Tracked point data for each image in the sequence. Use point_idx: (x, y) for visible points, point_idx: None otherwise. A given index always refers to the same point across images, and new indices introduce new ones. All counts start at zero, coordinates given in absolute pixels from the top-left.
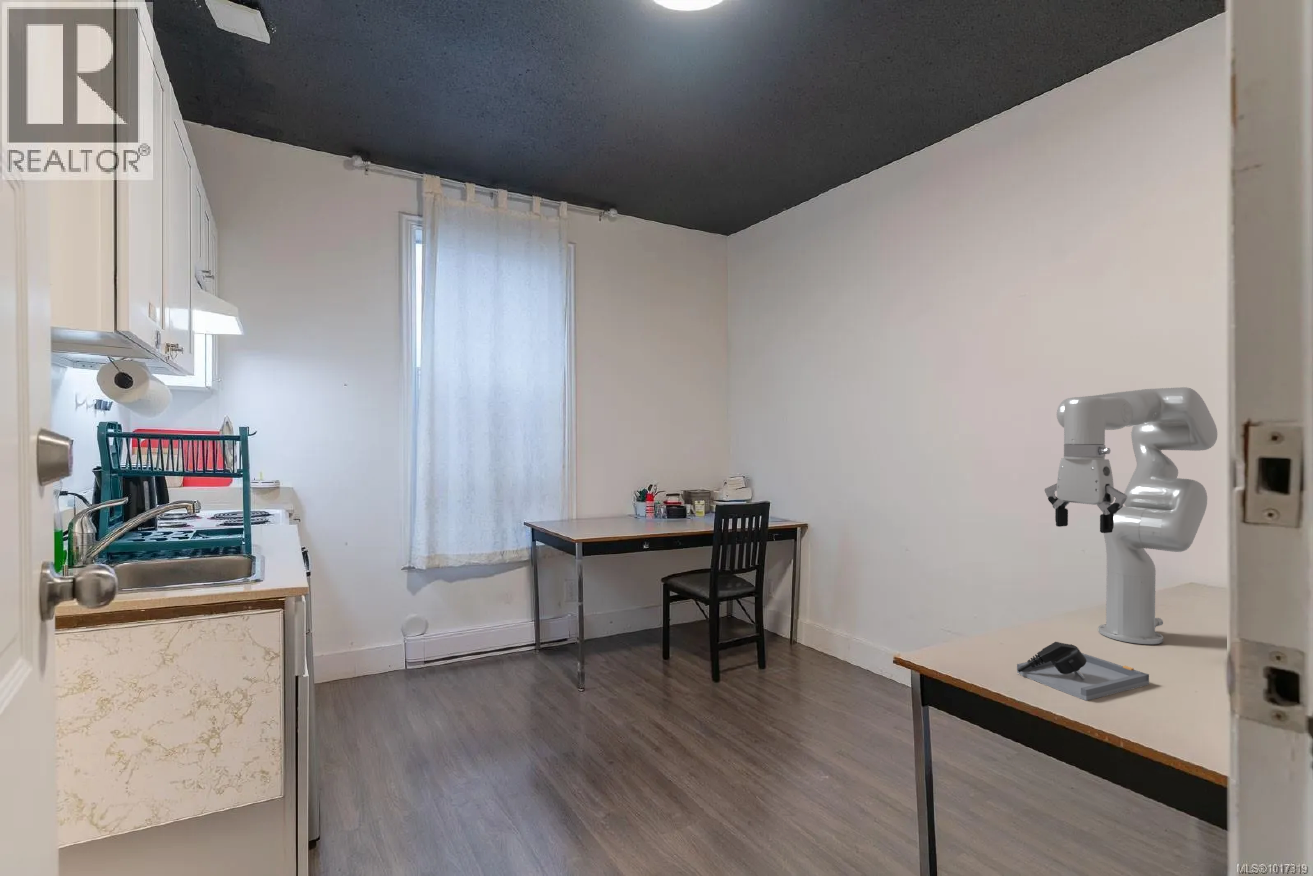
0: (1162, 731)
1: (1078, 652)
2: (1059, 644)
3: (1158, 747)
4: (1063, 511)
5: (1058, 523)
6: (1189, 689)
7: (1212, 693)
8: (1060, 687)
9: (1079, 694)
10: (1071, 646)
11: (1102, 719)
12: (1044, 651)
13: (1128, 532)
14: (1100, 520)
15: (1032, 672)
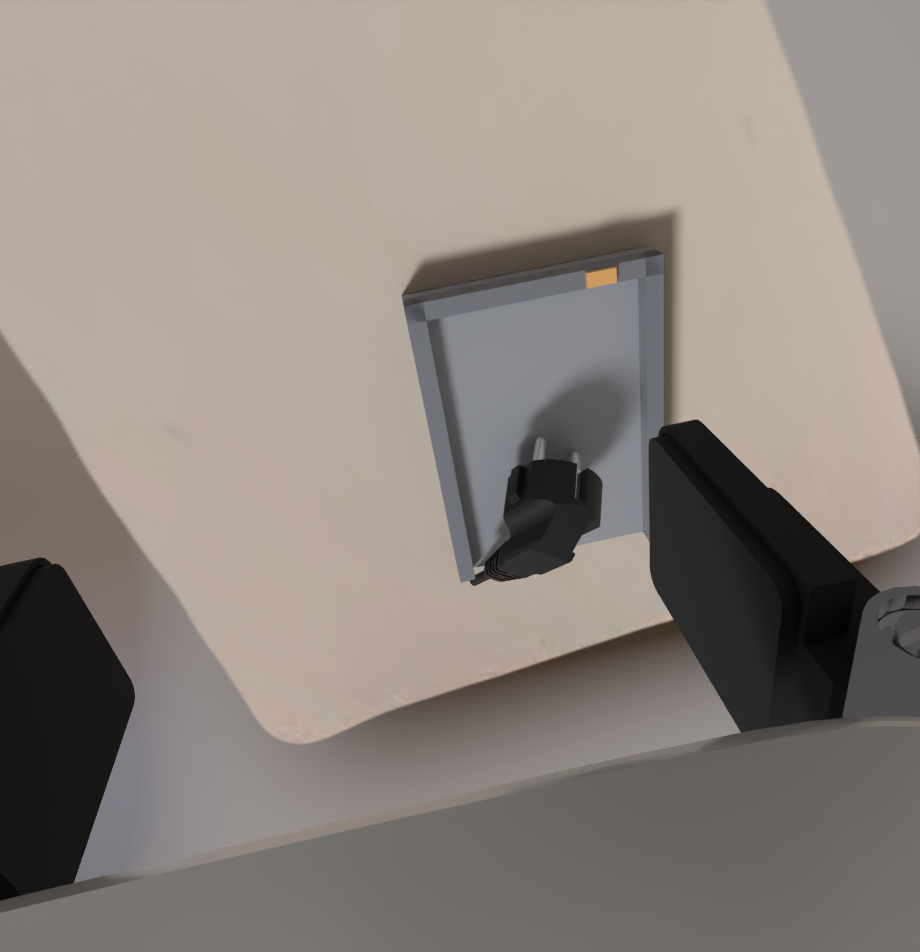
0: (824, 487)
1: (598, 515)
2: (558, 556)
3: (850, 551)
4: (12, 834)
5: (118, 727)
6: (730, 135)
7: (785, 84)
8: (587, 541)
9: (638, 530)
10: (575, 524)
11: None
12: (523, 569)
13: None
14: (723, 691)
15: (485, 544)
